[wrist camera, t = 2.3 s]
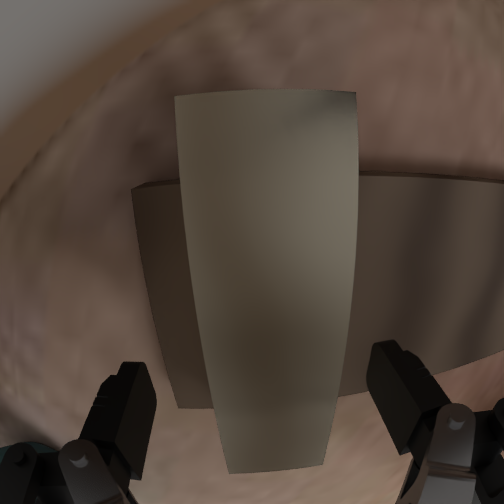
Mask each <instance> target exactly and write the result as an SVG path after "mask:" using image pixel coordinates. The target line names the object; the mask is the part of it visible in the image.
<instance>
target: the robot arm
mask: <svg viewBox="0 0 504 504" xmlns="http://www.w3.org/2000/svg"><path fill="white" fill-rule="evenodd" d="M366 383H367V387H368V390H369V392H370V394H371V396H372V398H373V400H374V402H375V404H376V406H377V408H378V411H379V413H380V415H381V417H382V419H383V421H384V423H385V425H386V427H387V429H388V431H389V433H390V436H391V438H392V440H393V442H394V444H395V446H396V448H397V451H398V453H399V455H402V454H405V453H408V452H411V453H412V456H413V458H412V460H411V462H410V465H409V468H408V471H407V474H406V477H405V480H404V482H403V485H402V488H401V490H400V493H399V496H398V498H397V501H396V503H395V504H471V503H472V498H473V493H474V489H475V491H476V493H477V495H478V498H479V500H480V502H481V504H504V459H503V457H502V455H501V454H500V453H501V452H502V451H504V398H502V399H500V400H499V401H498V402H497V403H496V405H495V406H494V408H493V410H488V411H481V412H472V410H471V409H470V408H468V407H467V406H465V405H463V404H459V403H452V402H451V401H450V400H449V398H448V397H447V395H446V394H445V392H444V391H443V390H442V388H441V387H440V385H439V384H438V383H437V381H436V380H435V379H434V377H433V376H431V373H430V372H429V370H428V369H427V368H425V365H424V364H423V362H422V361H421V360H420V358H419V357H418V356H416V355H415V354H413V353H412V352H410V351H409V350H405V351H403V350H402V348H401V347H400V346H399V344H398V343H397V342H396V340H394V339H391V340H386V341H381V342H376V343H374V344H373V346H372V349H371V354H370V359H369V364H368V369H367V373H366ZM156 406H157V399H156V393H155V390H154V387H153V384H152V381H151V378H150V375H149V373H148V370H147V367H146V364H145V363H144V362H123V363H122V364H121V366H120V369H119V371H118V373H117V375H110V376H109V377H108V378H107V379H106V380H105V381H104V382H103V383H102V384H101V386H100V389H99V391H98V393H97V397H96V398H95V400H94V402H93V406H92V407H91V409H90V412H89V414H88V417H87V419H86V421H85V424H84V426H83V429H82V431H81V434H80V436H79V438H78V439H76V440H72V441H70V442H68V443H66V444H65V445H64V446H63V447H62V448H61V450H60V452H49V453H37V451H36V450H35V449H34V448H33V447H32V446H31V445H29V444H27V443H16V444H14V445H12V446H11V447H9V448H8V449H7V451H6V452H5V454H4V457H3V459H2V462H1V464H0V504H138V502H137V501H136V499H135V497H134V496H133V494H132V493H131V491H130V490H129V488H128V487H129V482H130V479H133V480H141V479H142V473H143V468H144V463H145V458H146V453H147V448H148V443H149V439H150V434H151V429H152V425H153V420H154V416H155V411H156ZM36 497H37V499H36ZM35 501H36V502H35Z"/></svg>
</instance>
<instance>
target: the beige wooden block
mask: <svg viewBox="0 0 504 504" xmlns="http://www.w3.org/2000/svg"><path fill="white" fill-rule="evenodd" d="M174 97H175V118H176V134H177V149H178V162H179V174H180V185H181V196H182V206H183V216H184V225H185V233H186V242H187V250H188V258H189V266H190V273H191V280H192V287H193V294H194V301H195V307H196V314H197V320H198V326H199V332H200V338H201V344H202V350H203V355H204V361H205V366H206V372H207V377H208V382H209V387H210V392H211V397H212V402H213V407H214V411H215V416H216V421H217V425H218V430H219V434H220V439H221V443H222V447H223V451H224V456H225V460H226V464H227V468H228V472H229V474H236V473H257V472H270V471H281V470H290V469H298V468H305V467H312V466H318V465H323V461H324V457H325V453H326V449H327V445H328V440H329V436H330V432H331V427H332V422H333V418H334V413H335V408H336V403H337V398H338V392H339V387H340V381H341V375H342V369H343V363H344V356H345V350H346V343H347V336H348V328H349V320H350V311H351V302H352V292H353V282H354V270H355V257H356V241H357V221H358V177H359V164H358V122H357V102H356V92H347V91H332V90H311V89H256V90H235V91H220V92H208V93H198V94H189V95H181V96H174Z"/></svg>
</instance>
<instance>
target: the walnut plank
mask: <svg viewBox="0 0 504 504" xmlns="http://www.w3.org/2000/svg"><path fill="white" fill-rule="evenodd" d="M131 193H132V201H133V209H134V216H135V223H136V230H137V236H138V242H139V248H140V254H141V260H142V265H143V271H144V276H145V281H146V286H147V291H148V296H149V300H150V305H151V309H152V314H153V318H154V322H155V327H156V331H157V335H158V339H159V343H160V347H161V350H162V354H163V358H164V362H165V365H166V369H167V372H168V376H169V379H170V383H171V386H172V389H173V393H174V396H175V399H176V402H177V406H178V408H190V409H204V408H214V407H213V402H212V397H211V392H210V387H209V382H208V377H207V372H206V366H205V361H204V355H203V350H202V344H201V338H200V332H199V326H198V320H197V314H196V307H195V301H194V294H193V287H192V280H191V273H190V266H189V258H188V250H187V242H186V233H185V225H184V216H183V206H182V196H181V185H180V179H176V180H167V181H158V182H149V183H144V184H142V185H139V186H137V187H135V188H133V189H131ZM391 339H394V340H396V342H397V343H398V344H399V346H400V347H401V348H402V350H403V351H405V350H409V351H410V352H412V353H413V354H415V355H416V356H418V357H419V358H420V360H421V361H422V362H423V364H424V365H425V368H427V369H428V370H429V372H430V373H431V375H435V374H438V373H441V372H444V371H448V370H451V369H454V368H457V367H460V366H463V365H466V364H468V363H471V362H474V361H477V360H479V359H482V358H485V357H487V356H490V355H492V354H495V353H497V352H500V351H502V350H504V181H502V180H493V179H484V178H474V177H464V176H452V175H438V174H422V173H401V172H368V171H359V177H358V221H357V241H356V257H355V270H354V282H353V292H352V302H351V311H350V320H349V328H348V336H347V343H346V350H345V356H344V363H343V369H342V375H341V381H340V387H339V392H338V397H340V396H346V395H351V394H356V393H362V392H367V391H369V390H368V387H367V383H366V373H367V369H368V364H369V359H370V354H371V349H372V346H373V344H374V343H376V342H381V341H386V340H391Z"/></svg>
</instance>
